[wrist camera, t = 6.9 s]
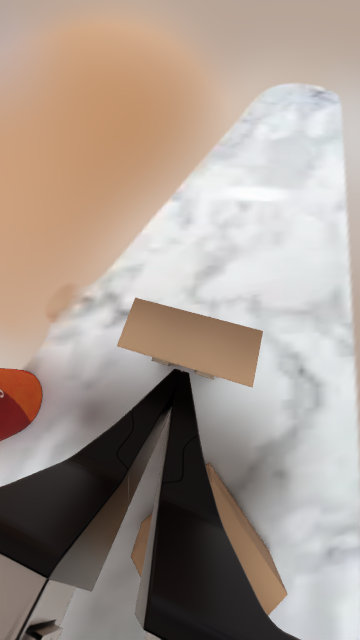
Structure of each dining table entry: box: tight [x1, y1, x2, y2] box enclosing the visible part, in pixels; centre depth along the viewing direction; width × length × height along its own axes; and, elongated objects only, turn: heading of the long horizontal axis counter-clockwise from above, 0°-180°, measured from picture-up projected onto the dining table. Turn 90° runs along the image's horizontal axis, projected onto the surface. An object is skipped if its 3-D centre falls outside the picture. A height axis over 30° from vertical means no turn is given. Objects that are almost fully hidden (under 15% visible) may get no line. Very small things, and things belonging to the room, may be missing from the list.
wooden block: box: [117, 298, 263, 387], centre depth 13 cm, size 3×6×10 cm, turn 74°
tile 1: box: [131, 463, 288, 615], centre depth 13 cm, size 7×7×3 cm
